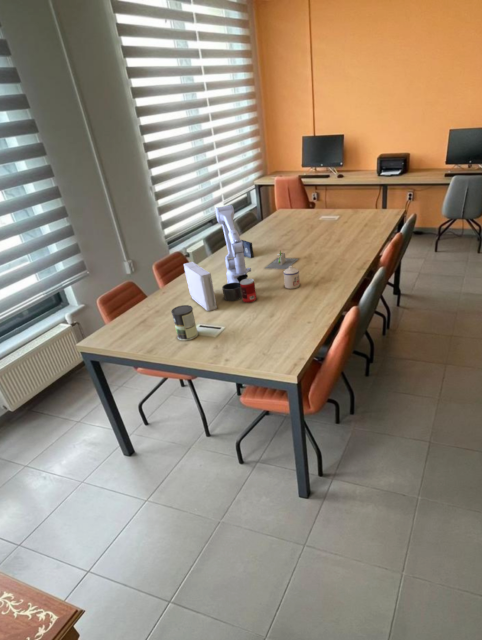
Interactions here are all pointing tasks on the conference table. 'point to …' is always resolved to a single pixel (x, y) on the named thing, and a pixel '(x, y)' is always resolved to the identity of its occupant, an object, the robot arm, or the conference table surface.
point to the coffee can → (184, 322)
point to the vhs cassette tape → (248, 249)
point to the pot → (232, 291)
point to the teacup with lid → (291, 277)
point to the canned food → (248, 290)
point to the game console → (200, 286)
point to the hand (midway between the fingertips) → (243, 287)
